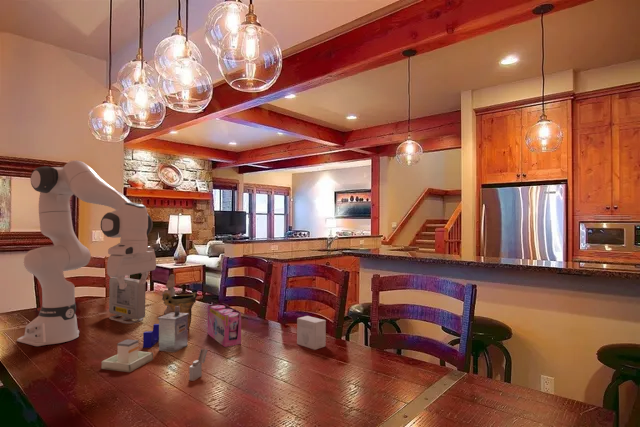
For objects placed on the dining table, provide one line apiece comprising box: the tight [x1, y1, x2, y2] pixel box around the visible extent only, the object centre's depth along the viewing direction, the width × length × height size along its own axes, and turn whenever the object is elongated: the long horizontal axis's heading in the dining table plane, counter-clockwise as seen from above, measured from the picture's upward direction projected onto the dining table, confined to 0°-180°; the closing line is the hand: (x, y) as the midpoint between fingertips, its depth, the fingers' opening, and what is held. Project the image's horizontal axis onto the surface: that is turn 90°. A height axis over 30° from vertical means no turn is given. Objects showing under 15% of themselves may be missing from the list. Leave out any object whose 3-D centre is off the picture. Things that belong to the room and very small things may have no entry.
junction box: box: [157, 306, 189, 353], centre depth 145 cm, size 8×9×16 cm
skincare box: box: [296, 315, 327, 351], centre depth 149 cm, size 10×6×10 cm, turn 47°
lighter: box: [188, 348, 208, 382], centre depth 119 cm, size 7×2×8 cm, turn 162°
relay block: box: [116, 338, 140, 364], centre depth 129 cm, size 5×5×7 cm
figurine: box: [161, 273, 176, 315], centre depth 200 cm, size 9×8×20 cm
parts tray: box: [101, 350, 154, 373], centre depth 129 cm, size 11×11×2 cm
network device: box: [108, 277, 146, 324], centre depth 186 cm, size 26×9×20 cm, turn 58°
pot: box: [162, 291, 198, 331], centre depth 168 cm, size 17×11×18 cm, turn 143°
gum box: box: [207, 302, 242, 348], centre depth 156 cm, size 22×7×13 cm, turn 35°
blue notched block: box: [142, 323, 159, 349], centre depth 151 cm, size 12×4×6 cm, turn 4°
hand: (133, 286), depth 133 cm, fingers open, 8 cm apart
